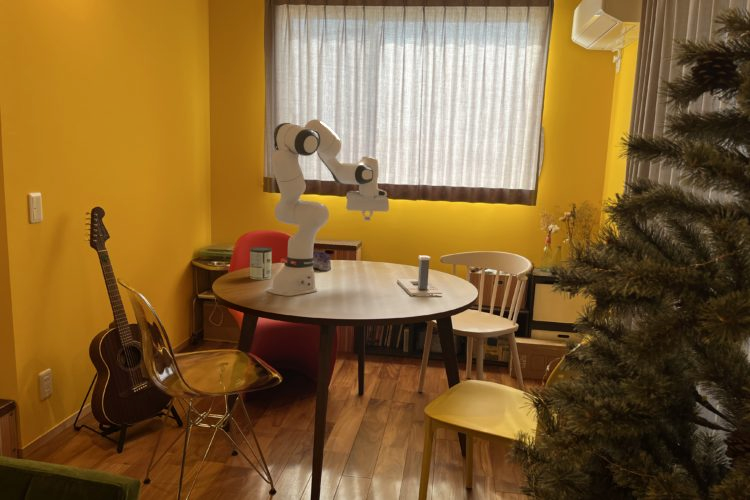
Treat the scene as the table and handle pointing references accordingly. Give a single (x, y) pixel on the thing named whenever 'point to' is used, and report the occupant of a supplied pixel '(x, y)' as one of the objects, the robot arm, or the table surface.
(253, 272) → the coffee can
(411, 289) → the console
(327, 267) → the geode
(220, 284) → the table surface
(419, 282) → the fader tab
